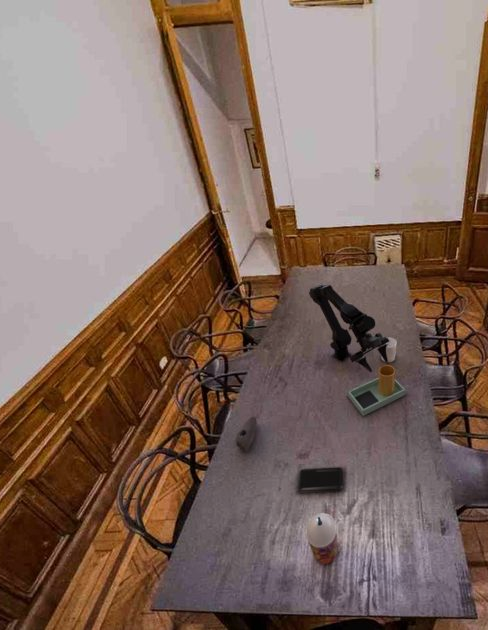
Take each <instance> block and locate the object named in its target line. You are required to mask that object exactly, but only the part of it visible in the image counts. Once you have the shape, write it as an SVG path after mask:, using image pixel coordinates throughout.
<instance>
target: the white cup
mask: <svg viewBox="0 0 488 630" xmlns="http://www.w3.org/2000/svg"><path fill="white" fill-rule="evenodd" d="M386 337H387V336H386ZM387 338H388V339H389V342H388V343H386V344H388V345H387V347H386V353H387V359H388V362H387V363H392V362H393V361H395V359H396V353H397V339H395V338H393V337H390V336H389V337H387ZM380 359H381V360H382V361H383V362H385V360H384V359H383V357H382V356H381V355H380Z"/></svg>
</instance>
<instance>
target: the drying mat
mask: <svg viewBox="0 0 488 630" xmlns="http://www.w3.org/2000/svg"><path fill="white" fill-rule="evenodd" d="M354 398H355V399H356V400H357V401H358V403H359V404H360V405H361V407H362V408H363V409H365V408H367V407H369V406H371V405H373V404H375V403H377V402H379V401H378V399H377V398H376V397H375V396H374V395H373V394H372V392H371V391H370V390H369V391H367V392H365V393H363V394H361V395H359V396H357V397H354Z"/></svg>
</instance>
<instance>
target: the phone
mask: <svg viewBox="0 0 488 630" xmlns="http://www.w3.org/2000/svg"><path fill="white" fill-rule="evenodd" d="M343 488H344V469H343V468H342V467H340V466H339V467H317V468H302V469H300V471H299V475H298V485H297V490H298V492H299V493H300V494H301V493H303V494H304V493H324V492H325V493H326V492H341V491H342V490H343Z"/></svg>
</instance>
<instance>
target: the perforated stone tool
mask: <svg viewBox="0 0 488 630" xmlns="http://www.w3.org/2000/svg"><path fill="white" fill-rule="evenodd" d="M257 422H258V421H257V418H256V417H255V416H252V417H250V418H248V419H247V420H246V421H245V422H244V424H243V426H242V427H241V428H240V430H239V432H238V433H237V435H236V438H235V443H236V445H235V446H236V447H237V448H239V451H242V452H244V453H247V452H248V451H249V449H250V448H251V446H252V444H253V441H254V437H255V434H256V431H257V426H258V425H257V424H258V423H257Z"/></svg>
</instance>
